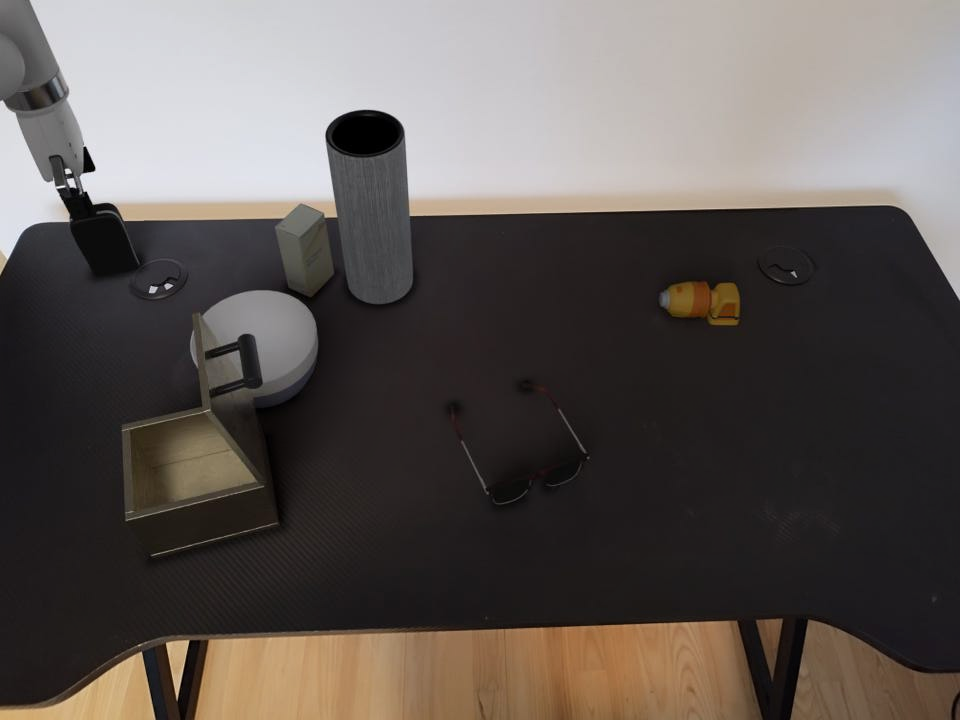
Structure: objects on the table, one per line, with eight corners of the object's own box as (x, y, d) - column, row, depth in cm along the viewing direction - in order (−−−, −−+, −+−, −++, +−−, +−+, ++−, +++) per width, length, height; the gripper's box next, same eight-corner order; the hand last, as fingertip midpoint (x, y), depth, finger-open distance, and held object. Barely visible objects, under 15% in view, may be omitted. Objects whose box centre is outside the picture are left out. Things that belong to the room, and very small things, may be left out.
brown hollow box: (152, 559, 93) (125, 520, 85) (147, 467, 100) (121, 424, 92) (280, 526, 96) (264, 486, 88) (265, 439, 103) (250, 395, 95)
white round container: (265, 449, 102) (250, 407, 95) (183, 387, 108) (163, 343, 100) (350, 372, 110) (342, 327, 103) (269, 318, 116) (256, 272, 108)
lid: (202, 412, 75) (258, 394, 75) (191, 313, 82) (241, 298, 83) (260, 485, 88) (307, 469, 88) (246, 394, 95) (289, 380, 95)
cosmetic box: (311, 298, 118) (298, 239, 109) (287, 287, 120) (272, 227, 110) (335, 272, 122) (325, 212, 112) (312, 262, 123) (300, 201, 114)
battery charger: (140, 252, 123) (115, 195, 114) (141, 269, 121) (116, 213, 112) (92, 262, 122) (63, 205, 113) (93, 279, 120) (64, 222, 111)
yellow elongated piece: (659, 325, 117) (740, 326, 117) (666, 300, 113) (750, 301, 113) (654, 298, 120) (733, 299, 121) (661, 273, 116) (743, 273, 116)
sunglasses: (486, 512, 98) (486, 490, 94) (440, 415, 107) (439, 392, 104) (586, 476, 101) (590, 454, 97) (533, 386, 111) (535, 362, 107)
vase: (336, 295, 119) (311, 146, 98) (363, 251, 125) (344, 101, 104) (398, 312, 117) (386, 164, 96) (422, 266, 123) (416, 117, 102)
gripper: (3, 52, 101) (57, 160, 115) (-5, 133, 91) (55, 241, 105) (65, 43, 103) (111, 151, 116) (64, 123, 93) (114, 230, 106)
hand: (84, 194), depth 111 cm, fingers open, 9 cm apart
